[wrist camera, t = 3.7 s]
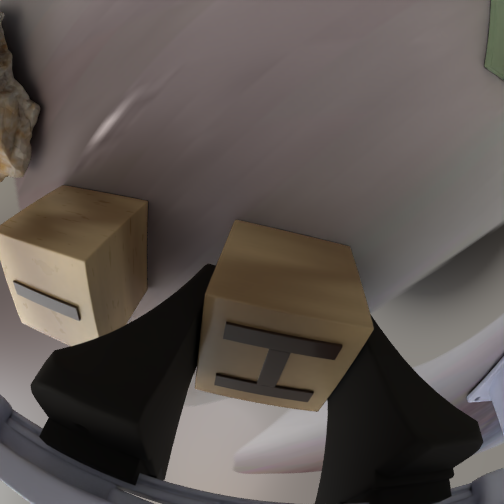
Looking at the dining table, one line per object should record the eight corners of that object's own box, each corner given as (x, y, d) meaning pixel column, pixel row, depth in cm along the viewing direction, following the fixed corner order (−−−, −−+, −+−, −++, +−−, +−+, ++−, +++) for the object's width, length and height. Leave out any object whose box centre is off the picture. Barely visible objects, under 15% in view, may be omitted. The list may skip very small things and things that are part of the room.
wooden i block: (148, 200, 11) (83, 263, 7) (147, 290, 14) (104, 362, 10) (62, 184, 11) (-10, 231, 7) (72, 267, 14) (20, 324, 10)
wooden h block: (350, 245, 11) (375, 331, 7) (315, 328, 13) (317, 414, 10) (234, 218, 11) (203, 296, 7) (219, 308, 14) (193, 391, 10)
